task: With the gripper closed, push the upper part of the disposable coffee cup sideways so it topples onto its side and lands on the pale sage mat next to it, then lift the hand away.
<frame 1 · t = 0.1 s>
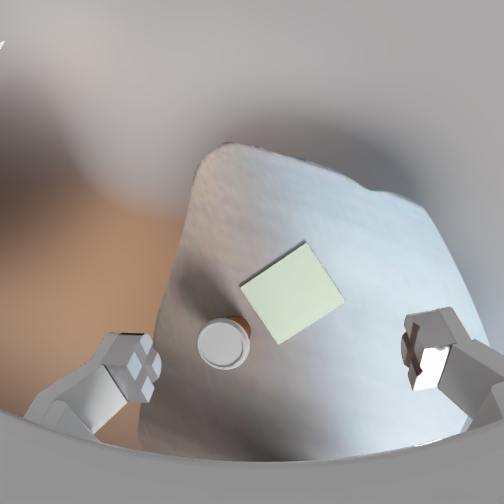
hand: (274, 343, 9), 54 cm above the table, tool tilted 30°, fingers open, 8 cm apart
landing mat: (292, 294, 63), on the table
disposable coffee cup: (235, 330, 65), on the table
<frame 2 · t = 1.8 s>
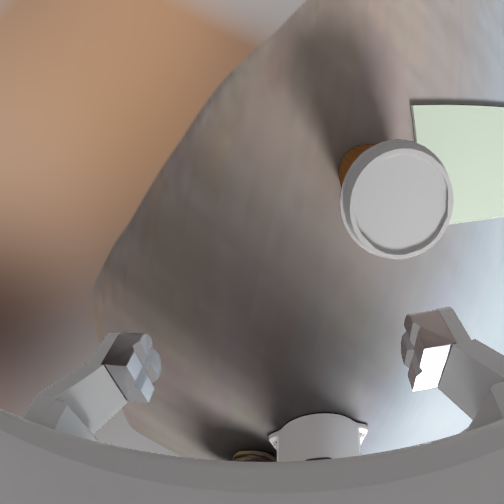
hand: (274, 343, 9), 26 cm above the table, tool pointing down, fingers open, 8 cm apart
ceramic jug: (254, 456, 58), on the table, touching arm
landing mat: (473, 163, 29), on the table
disposable coffee cup: (366, 172, 32), on the table
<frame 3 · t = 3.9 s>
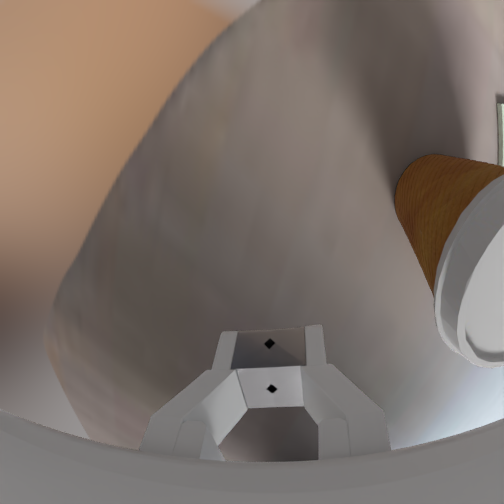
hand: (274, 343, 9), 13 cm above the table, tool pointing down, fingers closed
disposable coffee cup: (432, 197, 20), on the table
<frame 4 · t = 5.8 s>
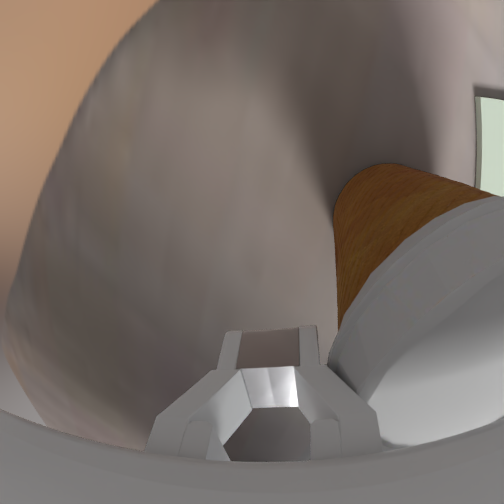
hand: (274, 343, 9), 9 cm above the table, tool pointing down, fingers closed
disposable coffee cup: (385, 216, 17), on the table, touching gripper
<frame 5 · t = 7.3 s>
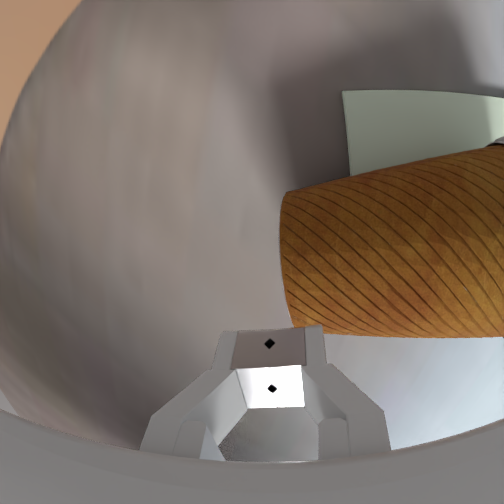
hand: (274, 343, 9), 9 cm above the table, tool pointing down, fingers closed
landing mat: (473, 210, 16), on the table
disposable coffee cup: (291, 261, 14), point 4 cm above the table, touching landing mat
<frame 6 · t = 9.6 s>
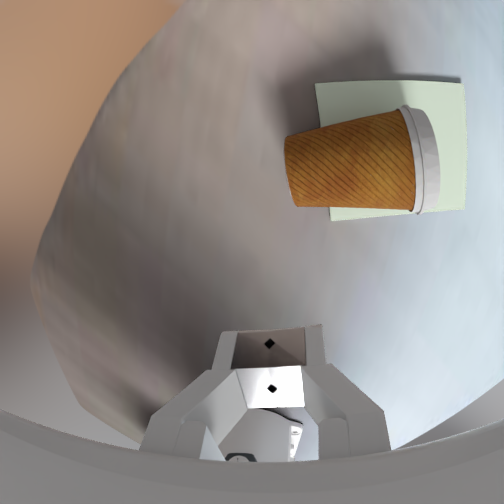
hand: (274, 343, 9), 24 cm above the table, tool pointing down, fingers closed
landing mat: (400, 148, 28), on the table
disposable coffee cup: (290, 171, 27), point 4 cm above the table, touching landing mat
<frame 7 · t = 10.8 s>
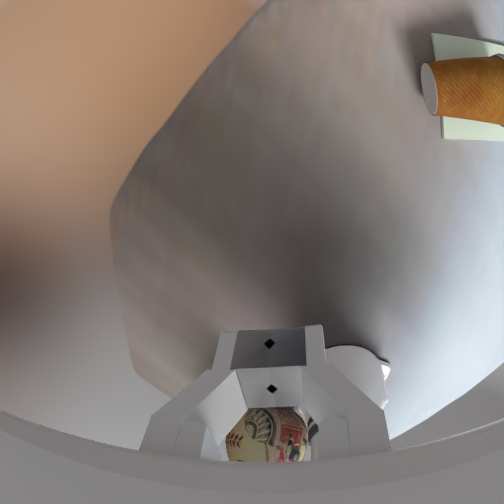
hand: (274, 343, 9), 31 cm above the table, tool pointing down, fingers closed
ceramic jug: (267, 404, 59), on the table, touching arm
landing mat: (485, 89, 29), on the table
disposable coffee cup: (426, 88, 28), point 4 cm above the table, touching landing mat
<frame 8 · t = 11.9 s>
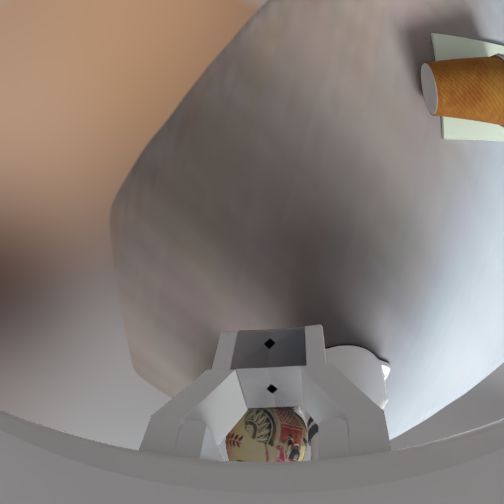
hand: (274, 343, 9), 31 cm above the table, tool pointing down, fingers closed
ceramic jug: (267, 404, 59), on the table, touching arm
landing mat: (485, 90, 29), on the table
disposable coffee cup: (426, 88, 28), point 4 cm above the table, touching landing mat
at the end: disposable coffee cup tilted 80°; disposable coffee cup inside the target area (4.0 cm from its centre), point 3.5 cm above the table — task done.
